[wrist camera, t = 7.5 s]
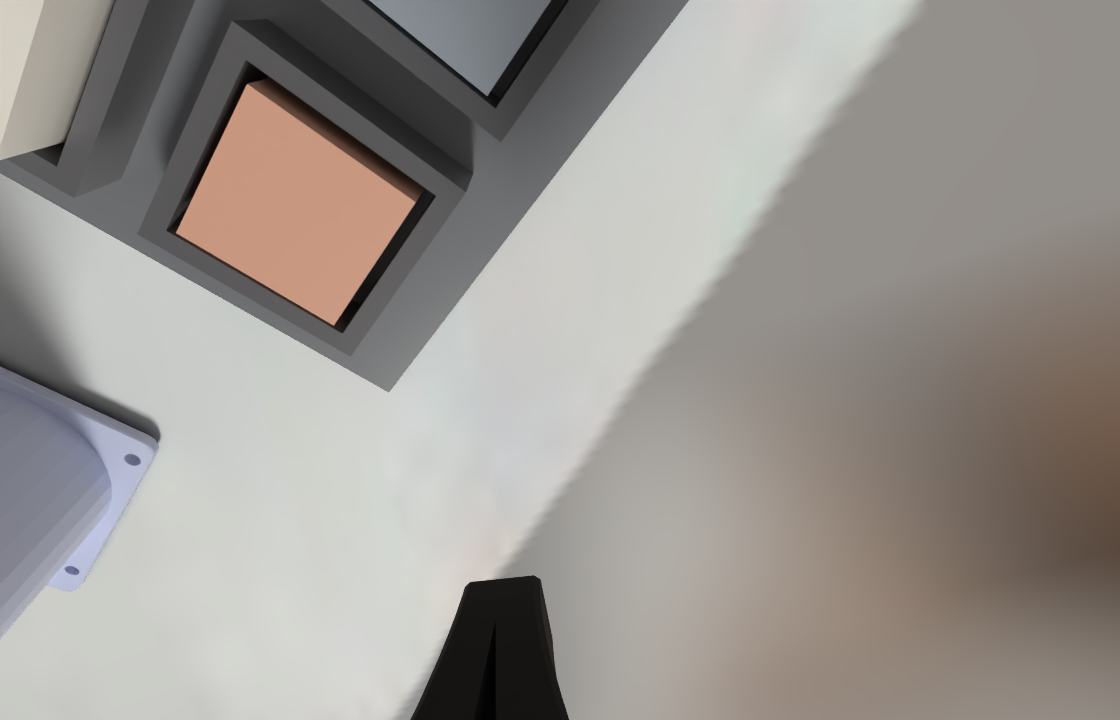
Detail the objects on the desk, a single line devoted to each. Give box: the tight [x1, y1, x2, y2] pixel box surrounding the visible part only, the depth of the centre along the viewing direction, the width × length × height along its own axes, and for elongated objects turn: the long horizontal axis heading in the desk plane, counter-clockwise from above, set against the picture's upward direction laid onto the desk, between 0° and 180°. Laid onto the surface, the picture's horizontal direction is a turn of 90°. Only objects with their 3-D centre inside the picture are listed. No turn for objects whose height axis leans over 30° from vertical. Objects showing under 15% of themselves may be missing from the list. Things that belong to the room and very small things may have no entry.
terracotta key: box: [176, 78, 425, 325], centre depth 14 cm, size 4×4×2 cm
